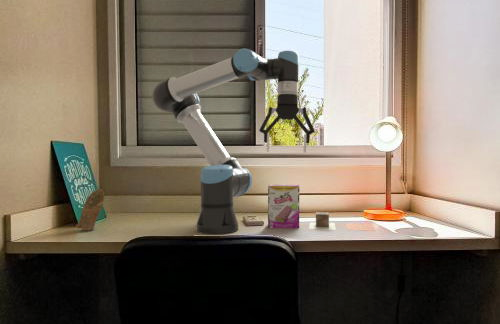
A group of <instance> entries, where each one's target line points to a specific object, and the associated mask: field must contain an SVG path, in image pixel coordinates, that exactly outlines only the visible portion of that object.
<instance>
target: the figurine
mask: <svg viewBox="0 0 500 324" xmlns="http://www.w3.org/2000/svg"><path fill="white" fill-rule="evenodd" d="M104 201H105V191H104V190H103V189H102V188H97V189H95V190H94V191H92V192H91V193H90V194H89V196H87V198H86V200H85V201H84V202H85V203H84V204H83V208H82V210H81V215H80V218H79V220H78V223H77V224H76V226H75V228H76V229H81V230H83V231H94V230H93V229H95V225H96V221H97V219H98V217H99V215H100V213H101V210H102V207H103V205H104Z"/></svg>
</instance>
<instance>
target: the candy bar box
mask: <svg viewBox="0 0 500 324" xmlns="http://www.w3.org/2000/svg"><path fill="white" fill-rule="evenodd" d="M267 188H268V189H267V197H268V198H267V209H268V210H267V228H270V229H280V228H281V229H299V228H300V185H299V184H268V186H267Z"/></svg>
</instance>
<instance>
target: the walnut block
mask: <svg viewBox="0 0 500 324" xmlns="http://www.w3.org/2000/svg"><path fill="white" fill-rule="evenodd" d="M315 223H316V227H329V223H330V213H329V212H322V211H320V212H319V211H318V212H317V211H316V212H315Z"/></svg>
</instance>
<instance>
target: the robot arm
mask: <svg viewBox="0 0 500 324" xmlns="http://www.w3.org/2000/svg"><path fill="white" fill-rule="evenodd" d="M299 66H300V62H299V53H298V52H297V51H295V50H283V51H280V52H279V53H278V56H277V58H268V59H267V58H264V57H262V56H260V55H259V54H257V52H255V51H253V50H252V49H249V48H244V47H243V48H241V49H238V50H237V51H236V52H235V54H234V56H232V57H229V58H227V59H224V60H221V61H219V62H217V63H213V64H211V65H208V66H205V67H203V68H200V69H198V70H195V71H194V72H193V71H192V72H190V73H187V74H185V75H182V76H178V77H174V76H171V77H169V78H166V79H163V80H162V81H160V82H158V83H157V84H156V85H155V86H154V87H153V90H152V93H151V96H152V97H151V99H152V102H153V104H154V105H155V107H156V108H157V109H158V110H161V111H163V112H166V113H171V114H172V115H173V116H174V119H175V120H176V121H177V123H179V124H183V126H184V127H185V129H186V130H187V131H188V133H189V135H190V136H191V138H192V140H193V141H194V143H195V144H196V145H197V147H198V148H199V150H200V152H201V153H202V155H203V156H204V158H205V159H206V161H207V163H208V164H209V165H208V166H205V167H203V168H202V169H200V170H201V171H200V177H199V179H200V207H201V208H200V211H199V214H198V215H199V216H198V219H197V222H196V232H198V233H200V232H202V234H207V233H210V234H211V235H214V234H215V235H219V234H220V235H221V234H230V233H234V232H237V231H238V230H239V223H238V218H237V216H236V215H237V214H236V213H235V210H234V198H236V197H237V198H238V197H242V196H243V195H245V194H247V193H248V192H249V190H250V189H251V188H252V184H253V176H252V173H251V172H250V171H249V169H247V168H246V167H243V166H242V165H241V164H240V162H239V161H238V160H237V158H235V157H232V156H230V154H229V153H228V151H227V150H226V148H225V147H224V146H223V144H222V143H221V141H220V140H219V138H218V137H217V135H216V133H215V132H214V131H213V129H212V127H211V126H210V125H209V123H208V121H207V120H206V119H205V117H204V115H203V114H202V112H201V110H202V106H201V105H200V97H199V94H198V93H201V92H204V91H206V90H208V89H209V90H210V89H212V88H215V87H217V86H219V85H223V84H226V83H229V82H231V81H233V80H234V81H235V80H237V79H239V78H243V77H245V76H247V78H248V80H250V81H259V82H260V81H269V80H277V94H278V95H277V96H276V97H277V98H276V99H277V101H276V102H277V103H276V104H277V106H276V107H271V106H269V107H268V111H267V115H266V116H265V118H264V120H263V122H262V124H261V126H260V128H259V132H260V133H263V142H264V143H266V152H267V153H269V152H270V134H269V132H270V131H271V130H272V129H273V127H275V125H276V124H277V123H278V122H279V121H280V120H282V121H286V120H287V121H292V120H294V122H296V123H297V125H298V126H299V127H300V128H301V129H302V131H303V132H304V133H305V134H304V135H303V153H307V144H309V143H310V135H311V134H313V133H315V132H316V131H315V128H314V127H313V124H312V122H311V120H310V118H309V115H308V112H307V108H306V107H302V108H299V107H298V104H299V102H298V100H299V96H298V94H299V69H300V67H299ZM275 112H276V114H277V116H276V118H274V120H273V121H272V122H271V123H270V124H269V126H267V124H268V122H269V120H270V118H271V117H272V115H273V114H274V113H275ZM299 112H300V114H301V115H303V118H304V120H305V122H306V125H307V127H308V128H307V127H306V126H305V125H304V123H303V122H302V121H301V119H299V117H298V113H299ZM266 126H267V128H266ZM265 128H266V129H265ZM210 234H209V235H210Z"/></svg>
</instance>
